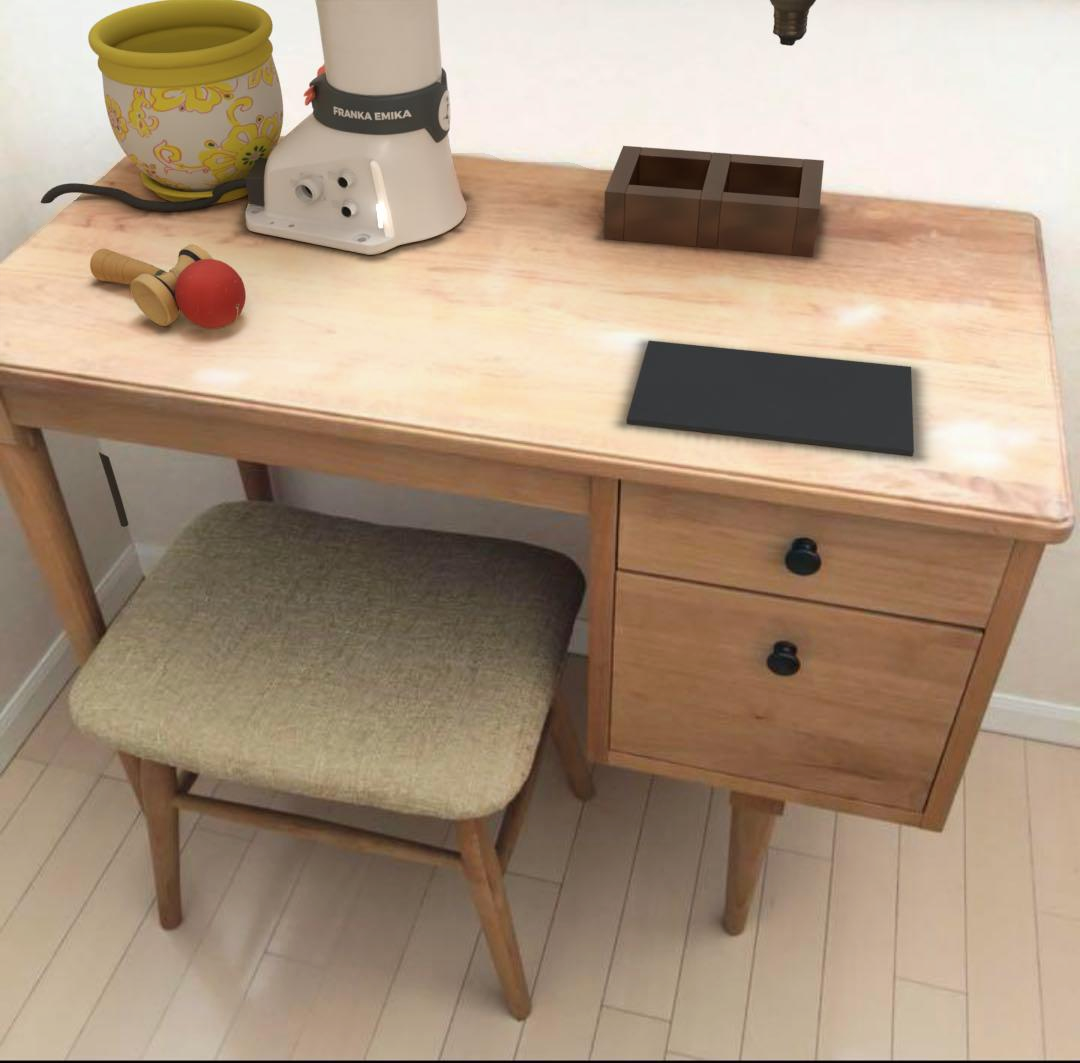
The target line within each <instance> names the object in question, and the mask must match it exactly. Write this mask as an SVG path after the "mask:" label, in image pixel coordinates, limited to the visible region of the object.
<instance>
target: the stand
mask: <svg viewBox="0 0 1080 1063" xmlns="http://www.w3.org/2000/svg"><path fill="white" fill-rule="evenodd" d="M824 165H825V160H824V159H811V158H810V159H809V158H795V157H782V156H781V157H780V156H769V155H768V156H767V155H756V154H754V155H753V154H742V153H727V152H715V151H714V152H713V151H701V150H700V151H699V150H686V149H673V148H661V147H659V148H658V147H645V146H632V145H622V148H621V150H620V153H619V155H618V158H617V160H616V163H615V164H614V168H613V170H612V172H611V175H610V177H609V180H608V183H607V186H606V187H605V189H604V201H603V202H604V208H603V209H604V210H603V239H604V240H613V241H627V242H637V243H648V244H660V245H672V246H681V247H682V246H683V247H696V248H707V249H717V250H729V251H741V252H751V253H761V254H774V255H786V256H795V257H796V256H797V257H798V256H799V257H808V258H814V250H815V245H816V236H817V230H818V223H819V217H820V216H819V215H820V210H821V201H822V200H821V197H822V189H823V188H822V187H823V178H824V177H823V176H824V175H823V174H824Z"/></svg>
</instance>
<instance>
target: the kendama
mask: <svg viewBox="0 0 1080 1063" xmlns="http://www.w3.org/2000/svg"><path fill="white" fill-rule="evenodd" d="M177 257H178V259H177V262H176V265H175V266H174V267H171V268H170V269H169V271H166V270H163V269H161V268H160V267H157V266H155V265H153V264H150V263H148V262H145V261H143V260H139V259H136V258H134V257H131V256H130V257H129V256H127V255H124V254H121V253H118V252H116V251H113V250H111V249H108V248H100V249H98V250H96V251H95V252H94V253H93V254H92V256H91V258H90V262H89V267H90V272H91V275H92V276H93V277H94V278H95V279H96V280H98V281H102V282H109V283H117V284H123V285H129V287H130V293H131V297H132V299H133V300H134V302H135V304H136V305H137V308H139V309H140V311H141V312H142V313H143V314H144V315H145V316H146V317H147V318H148V319H149V320H150V321H152V322H154V323H155V324H157V325H158V326H161V327H167V326H169V325H171V324H172V323H174V322H175V321H177V320H178V318H179V315H180V312H181V314H182V315H183V317H185V318H186V319H187V320H188V321H189V322H190V323H193V324H194V325H195V326H198V327H201V328H205V329H220V328H223V327H227V326H228V325H230V324H234V323H235V322H236V321H237V320H238V318H239V317H240V315H241V313H242V312H243V309H244V307H245V304H246V298H247V297H246V296H247V295H246V293H247V292H246V287H245V284H244V281H243V279H242V277H241V276H240V274H239V273H238V272H237V271H236V270H235V269H234V268H233V267H232V266H231V265H229V264H228V263H226V262H224V261H221V260H220V259H219V260H218V259H215V258H213V257H212V255H211V254H210V253H209V252H208V251H207V250H205V249H204V248H202V247H201V246H200V245H197V244H193V243H190V244H188V245H186V246H184V247H183V248H181V249H180V250H179V252H178V256H177Z"/></svg>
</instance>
